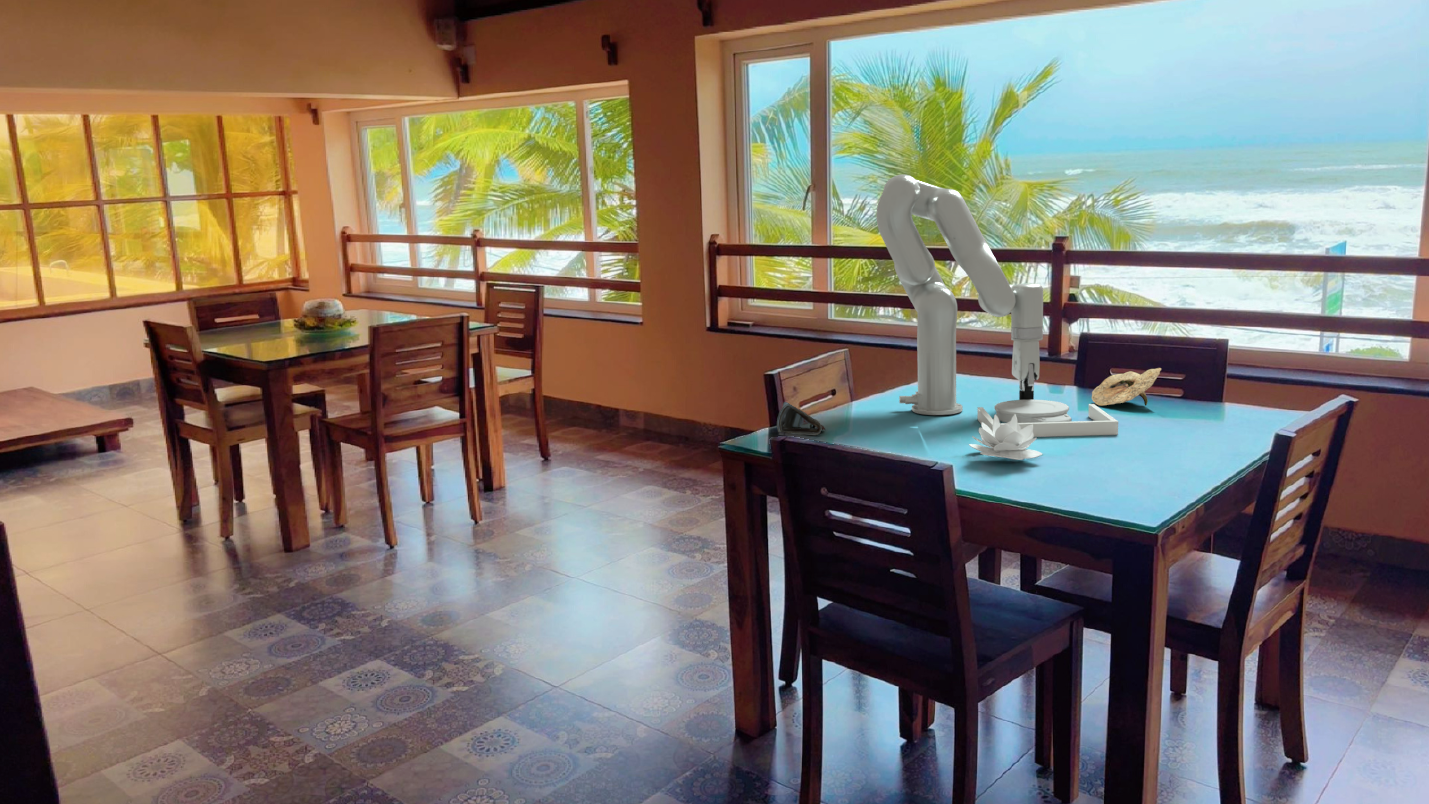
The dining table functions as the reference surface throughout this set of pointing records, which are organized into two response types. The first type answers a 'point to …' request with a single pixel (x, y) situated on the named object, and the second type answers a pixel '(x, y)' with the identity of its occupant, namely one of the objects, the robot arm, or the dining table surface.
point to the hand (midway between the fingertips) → (1026, 406)
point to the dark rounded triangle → (797, 421)
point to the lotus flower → (1006, 440)
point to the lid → (1032, 411)
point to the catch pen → (1066, 424)
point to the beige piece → (1124, 387)
